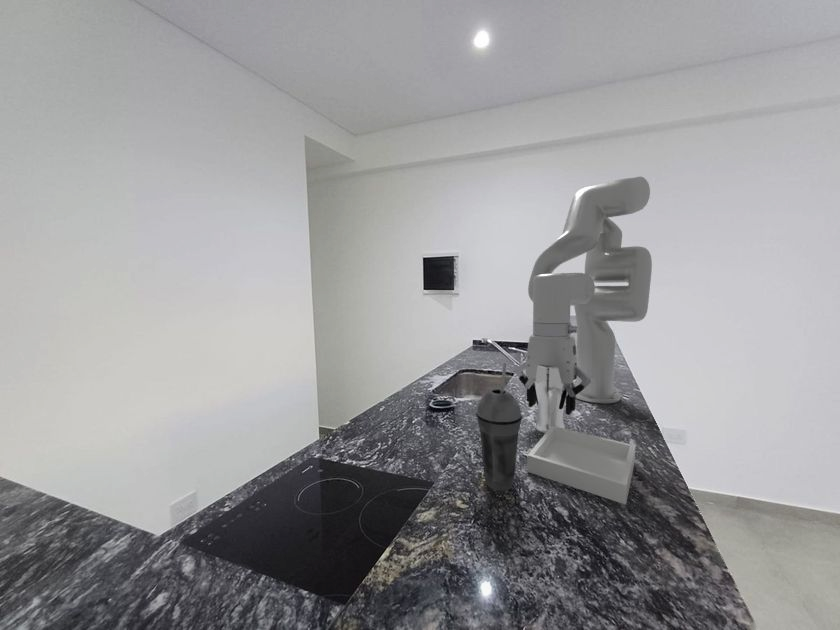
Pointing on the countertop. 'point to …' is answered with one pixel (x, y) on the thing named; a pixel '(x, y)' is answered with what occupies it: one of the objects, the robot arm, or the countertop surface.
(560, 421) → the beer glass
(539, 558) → the countertop surface
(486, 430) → the beverage cup
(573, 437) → the tray
